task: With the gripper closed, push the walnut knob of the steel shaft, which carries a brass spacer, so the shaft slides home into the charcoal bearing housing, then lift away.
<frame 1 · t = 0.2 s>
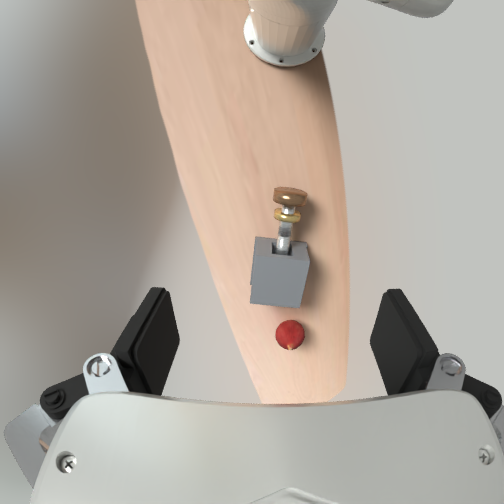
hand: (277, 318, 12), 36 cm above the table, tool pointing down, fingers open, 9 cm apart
housing: (277, 262, 51), on the table
shaft: (285, 230, 44), point 4 cm above the table, slide at 5.0 cm
onion: (289, 322, 57), on the table
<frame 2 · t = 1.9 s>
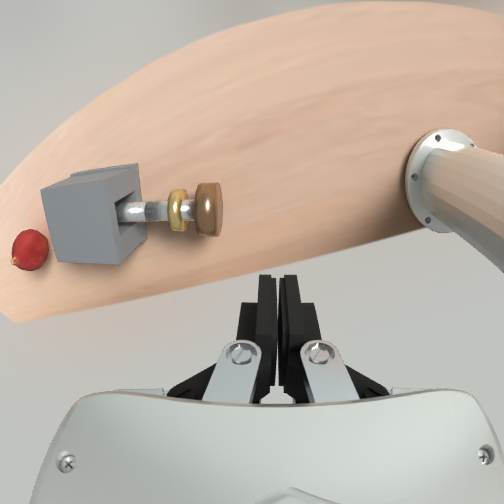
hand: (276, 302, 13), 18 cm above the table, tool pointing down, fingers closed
housing: (110, 204, 30), on the table
shaft: (155, 211, 26), point 4 cm above the table, slide at 5.0 cm
onion: (46, 238, 33), on the table
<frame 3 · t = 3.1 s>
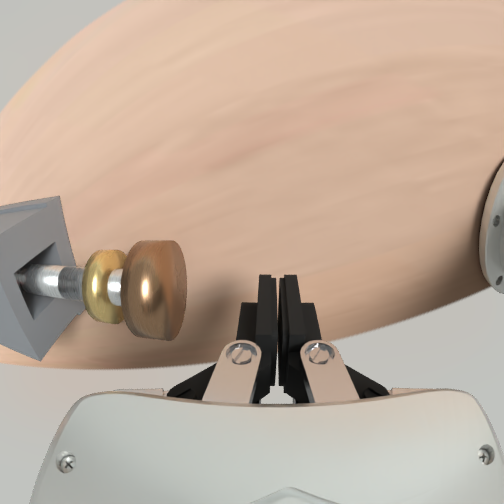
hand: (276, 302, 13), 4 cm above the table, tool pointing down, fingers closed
housing: (37, 253, 18), on the table
shaft: (77, 283, 14), point 4 cm above the table, slide at 5.0 cm
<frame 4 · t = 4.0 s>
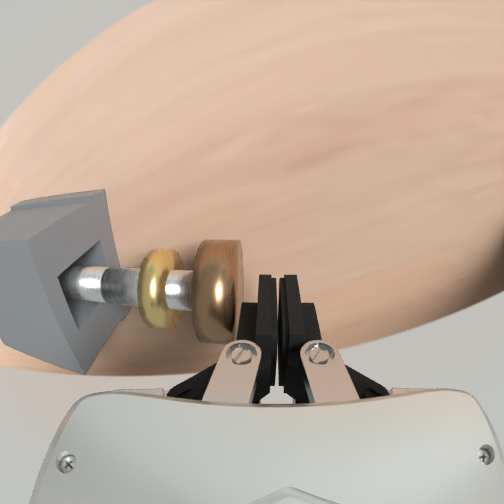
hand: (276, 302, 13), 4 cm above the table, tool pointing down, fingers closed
housing: (70, 252, 18), on the table
shaft: (122, 286, 14), point 4 cm above the table, slide at 4.1 cm, touching gripper
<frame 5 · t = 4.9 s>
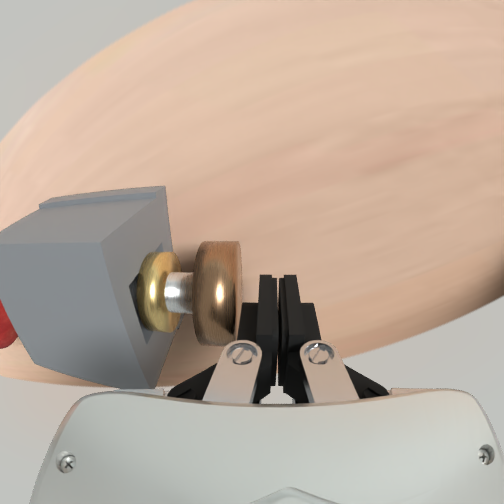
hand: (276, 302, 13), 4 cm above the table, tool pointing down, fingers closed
housing: (112, 256, 17), on the table
shaft: (120, 289, 13), point 4 cm above the table, slide at -0.3 cm, touching gripper, housing
onion: (18, 294, 20), on the table
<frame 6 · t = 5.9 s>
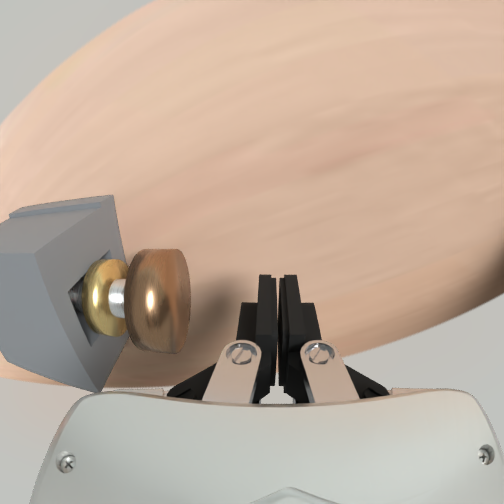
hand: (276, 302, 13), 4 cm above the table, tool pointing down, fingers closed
housing: (74, 262, 17), on the table
shaft: (75, 294, 13), point 4 cm above the table, slide at 0.0 cm
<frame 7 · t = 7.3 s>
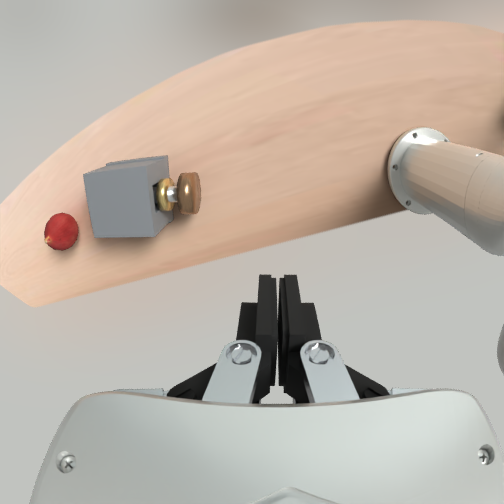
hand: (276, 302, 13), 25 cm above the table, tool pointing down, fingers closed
housing: (141, 189, 36), on the table
shaft: (148, 195, 33), point 4 cm above the table, slide at 0.0 cm
onion: (74, 222, 39), on the table
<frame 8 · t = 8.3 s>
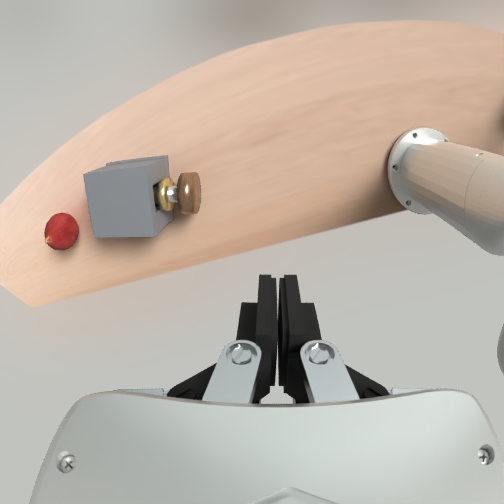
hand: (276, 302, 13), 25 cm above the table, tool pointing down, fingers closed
housing: (141, 189, 36), on the table
shaft: (148, 195, 33), point 4 cm above the table, slide at 0.0 cm
onion: (75, 222, 39), on the table
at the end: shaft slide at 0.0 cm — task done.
